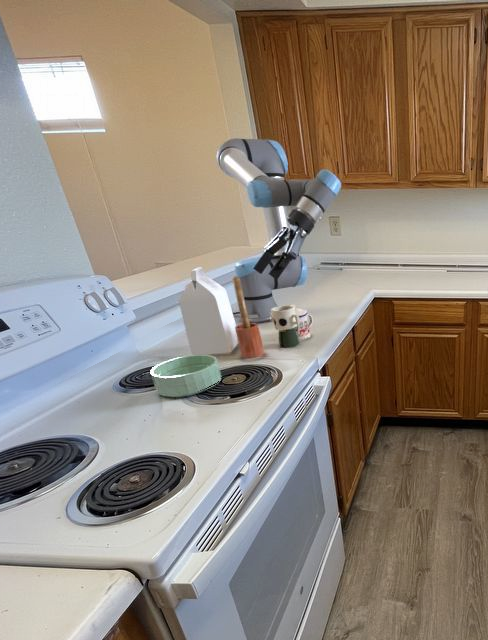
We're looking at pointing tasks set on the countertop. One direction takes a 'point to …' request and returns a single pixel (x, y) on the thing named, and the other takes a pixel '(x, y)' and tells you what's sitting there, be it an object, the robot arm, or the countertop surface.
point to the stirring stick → (241, 302)
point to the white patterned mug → (302, 323)
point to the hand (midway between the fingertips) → (264, 274)
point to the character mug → (285, 325)
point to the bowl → (186, 375)
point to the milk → (207, 316)
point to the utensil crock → (249, 341)
